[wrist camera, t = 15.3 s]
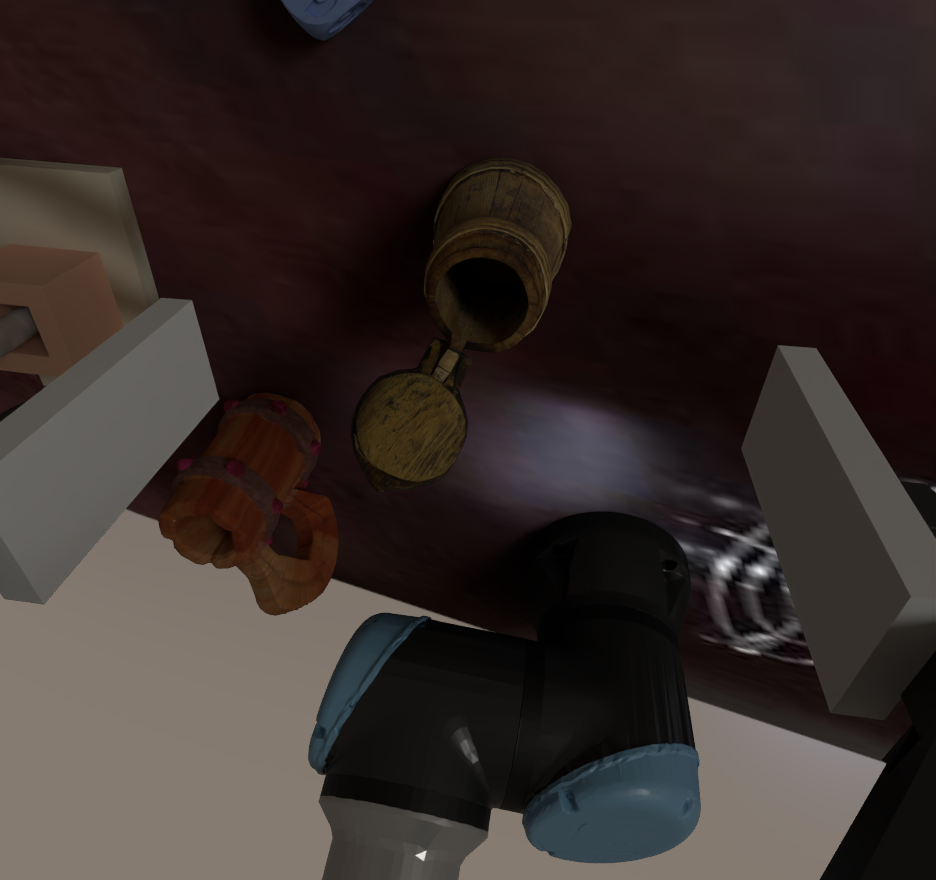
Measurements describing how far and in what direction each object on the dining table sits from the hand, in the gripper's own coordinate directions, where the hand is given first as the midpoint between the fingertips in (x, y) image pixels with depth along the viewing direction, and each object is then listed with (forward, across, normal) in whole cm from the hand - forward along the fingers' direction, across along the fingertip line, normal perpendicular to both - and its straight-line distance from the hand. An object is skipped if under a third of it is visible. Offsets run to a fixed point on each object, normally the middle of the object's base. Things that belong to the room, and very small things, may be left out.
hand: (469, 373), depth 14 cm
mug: (+29, +18, +26) cm, 43 cm away
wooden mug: (+29, +3, +8) cm, 30 cm away
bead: (+27, +34, +12) cm, 45 cm away
